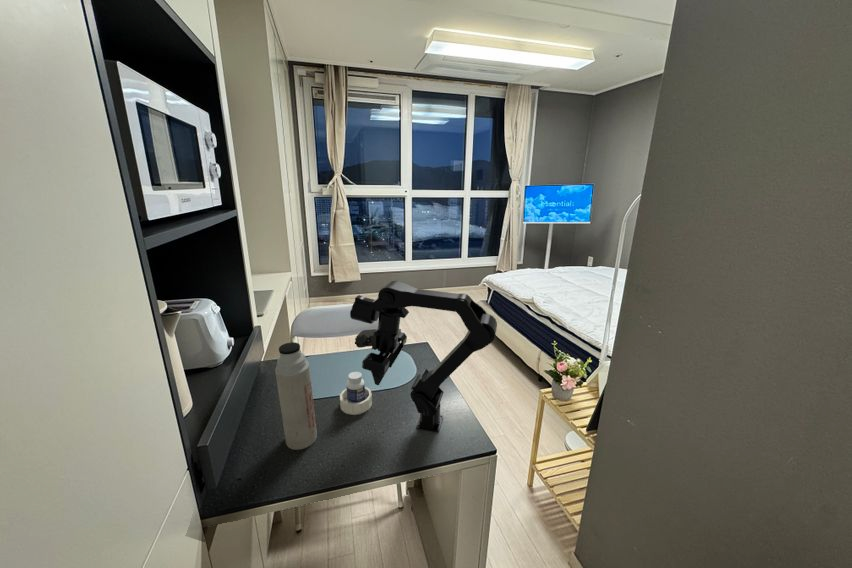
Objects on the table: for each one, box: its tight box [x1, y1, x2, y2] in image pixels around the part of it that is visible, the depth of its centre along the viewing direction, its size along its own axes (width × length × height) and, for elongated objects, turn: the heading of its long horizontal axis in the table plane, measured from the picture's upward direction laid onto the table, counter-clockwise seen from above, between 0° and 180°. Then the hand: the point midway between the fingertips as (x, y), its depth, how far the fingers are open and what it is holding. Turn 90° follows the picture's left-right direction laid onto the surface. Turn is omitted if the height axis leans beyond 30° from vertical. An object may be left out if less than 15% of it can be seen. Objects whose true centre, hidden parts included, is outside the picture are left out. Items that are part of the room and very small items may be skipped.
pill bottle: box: [346, 371, 366, 403], centre depth 106 cm, size 5×5×10 cm
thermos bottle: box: [274, 341, 318, 451], centre depth 90 cm, size 8×8×28 cm
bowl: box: [339, 386, 373, 416], centre depth 107 cm, size 10×10×4 cm
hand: (383, 375), depth 99 cm, fingers open, 9 cm apart
